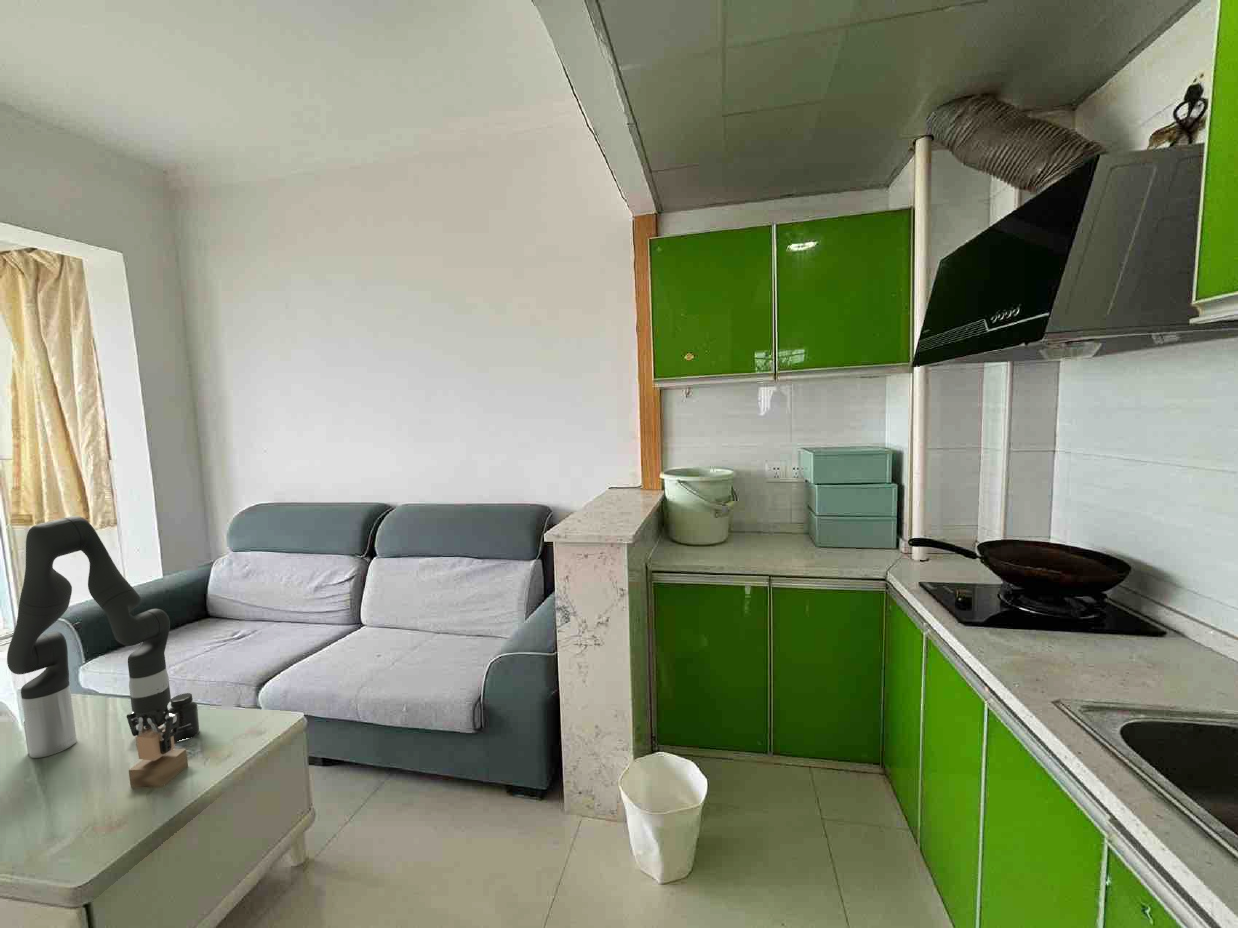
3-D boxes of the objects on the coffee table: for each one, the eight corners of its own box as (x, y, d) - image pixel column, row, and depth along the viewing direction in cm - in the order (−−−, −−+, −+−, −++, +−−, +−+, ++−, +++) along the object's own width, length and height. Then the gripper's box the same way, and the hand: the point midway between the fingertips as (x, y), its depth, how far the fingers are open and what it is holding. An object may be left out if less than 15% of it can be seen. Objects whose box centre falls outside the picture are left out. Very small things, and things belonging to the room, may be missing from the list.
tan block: (138, 758, 134) (136, 736, 133) (158, 746, 139) (156, 725, 138) (155, 760, 133) (152, 738, 132) (174, 748, 138) (172, 726, 137)
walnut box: (130, 788, 132) (128, 770, 132) (158, 767, 140) (156, 749, 140) (162, 787, 132) (160, 768, 132) (188, 766, 140) (186, 748, 140)
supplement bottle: (182, 744, 150) (178, 704, 149) (163, 741, 151) (159, 702, 150) (205, 730, 157) (201, 691, 155) (187, 728, 158) (183, 690, 157)
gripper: (110, 694, 132) (118, 758, 133) (158, 698, 129) (165, 763, 131) (142, 679, 139) (149, 740, 141) (187, 683, 137) (194, 744, 138)
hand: (157, 750), depth 136 cm, fingers closed on tan block, 5 cm apart
